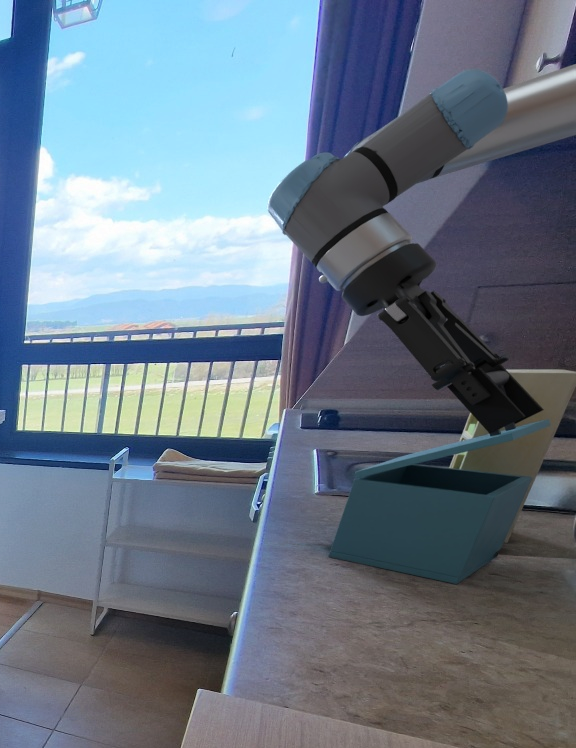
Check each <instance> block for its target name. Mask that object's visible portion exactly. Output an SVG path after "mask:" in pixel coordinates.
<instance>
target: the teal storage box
mask: <svg viewBox="0 0 576 748" xmlns="http://www.w3.org/2000/svg"><path fill="white" fill-rule="evenodd" d="M532 478H533V477H527V476H518V475H509V474H500V473H490V472H481V471H472V470H463V469H454V468H449V467H445V466H435V465H425V464H419V463H418V464H413V465H409V466H405V467H401V468H397V469H393V470H389V471H385V472H380V473H376V474H372V475H368V476H364V477H360V478H357V477H355V478H354V479H353V481H352V485H351V487H350V491H349V493H348V497H347V500H346V504H345V506H344V508H343V512H342V514H341V518H340V521H339V524H338V527H337V530H336V533H335V535H334V538H333V542H332V545H331V547H330V551H329V553H328V558H333V559H337V560H340V561H341V560H342V561H347V562H351V563H356V564H359V565H365V566H371V567H373V568H380V569H383V570H387V571H394V572H398V573H402V574H407V575H412V576H416V577H421V578H425V579H431V580H434V581H440V582H444V583H449V584H454V585H458V584H459V583H461V582H462V581H464V580H466V579H467V578H468V577H470V576H471V575H473V574H474V573H475V572H477V571H478V570H480V569H482V568H483V567H485V566H486V565H487V564H488V563H490V562H492V561H493V560H494V559H495V558H497V557H499V553H497V552H499V551H500V550H501V549H502V547H503V544H504V543H505V542H504V540H505V538H506V536H507V534H508V532H509V529H510V527H511V525H512V523H513V520H514V518H515V516H516V514H517V512H518V509H519V507H520V505H521V503H522V501H523V498H524V496H525V494H526V492H527V489H528V487H529V485H530V483H531V481H532Z"/></svg>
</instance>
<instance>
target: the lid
mask: <svg viewBox="0 0 576 748" xmlns="http://www.w3.org/2000/svg"><path fill="white" fill-rule="evenodd" d="M486 374H487V375H488V376H489V377H490V378H491V379H492V380H493V382H494V383H495V384H496V385H497V386H498V387H499V388H500V389H501V390H502V391H503V392H504V393H505V394H506V392H505V388H504V384H506V383H507V382H508V380H509V374H508V373H507V372H505V371H494V372H489V373H486ZM506 396H507V395H506ZM548 426H551V425H550V421H549V419H547V420H543V421H539V422H535V423H531V424H527V425H523V426H519V427H516V426H515V422H513V423H511V424H509V425H507V426H505V430H503V431H500V429H499V430H497V431H495V432H493V433H490V434H487V435H484V436H480V437H476V438H472V439H468V440H464V441H460V440H459V441H460V442H459V441H456V442H453V443H448V444H444V445H442V446H441V445H440V446H437V447H433V448H428V449H425V450H421V451H416V452H414V453H409V454H405V455H401V456H398V457H395V458H392V459H389V460H387V461H383V462H381V463H377V464H375V465H371V466H367V467H364V468H362V469H360V470H356V471H355V478H360V477H364V476H368V475H372V474H376V473H380V472H385V471H389V470H393V469H397V468H401V467H405V466H409V465H413V464H418V465H419V464H422V463H425V462H429V461H434V460H438V459H441V458H446V457H451V456H454V455H455V454H459V453H463V452H467V451H471V450H475V449H479V448H484V447H488V446H492V445H496V444H500V443H504V442H508V441H513V440H515V439H518V438H520V437H523V436H525V435H528V434H530V433H533V432H536V431H538V430H541V429H543V428H546V427H548Z"/></svg>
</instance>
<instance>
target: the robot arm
mask: <svg viewBox="0 0 576 748" xmlns="http://www.w3.org/2000/svg"><path fill="white" fill-rule="evenodd" d="M573 136H576V63H575V64H572V65H571V64H570V65H568V66H566V67H563V68H560V69H557V70H554V71H551V72H548V73H545V74H542V75H540V76H537V77H533V78H530V79H527V80H525V81H524V80H523V81H522V82H518V83H516V84H513V85H510V86H507V87H504V88H503V86H502V85H501V84H500V82H499V81H498V80H497V79H496V78H495V77H494V76H493V75H492V74H490V73H489V72H486V71H485V70H482V69H478V68H468V69H465V70H463V71H461V72H459V73H457V74H456V75H454V76H453V77H451V78H450V79H449V80H447V81H446V82H444V83H443V84H441V85H440V86H438V87H436V88H434V89H433V90H431V91H430V93H428V94H427V95H426V96H424V97H423V98H422V99H420V100H419V101H418V102H417V103H415V104H414V105H413V106H411V107H410V108H409V109H408V110H406V111H405V112H403V113H402V114H400V115H399V116H397V117H395V118H394V119H393V120H391V121H390V122H388V123H387V124H385V125H384V126H382V127H381V128H379V129H378V130H376V131H375V132H373V133H371V134H370V135H368V136H365V137H364V138H363V139H361V140H360V141H358V142H356V144H354V145H353V146H352V147H351V148H350V150H349V151H348V152H347V153H346V154H345V155H344V156H343V157H342V158H340V157H339V156H335V155H333V154H332V153H331V152H321V153H317V154H315V155H314V156H312V157H311V158H310V159H307V160H304V161H303V162H301V163H300V164H298V165H297V166H296V167H295V168H293V169H292V170H291V171H290V172H288V174H287V175H286V176H284V177H283V178H282V180H280V182H279V183H278V184H277V185H276V187H275V188H274V189H273V190H272V192H271V194H270V195H269V198H268V200H267V206H266V208H267V211H268V213H269V215H270V217H271V218H272V219H273V220H274V222H275V223H276V224H277V226H278V228H279V229H280V230H281V232H282V234H283V235H284V236H286V237H287V238H288V239H289V240H290V241H291V242H292V243H293V244H294V246H296V247H297V248H298V249H299V251H300V252H301V253H302V254H303V255H304V256H305V257H306V258H307V260H308V261H310V263H311V264H312V265H313V266H314V267H315V268H316V269H317V271H318V272H319V273H322V275H321V276H320V277H319V278H318V281H319V283H320V284H326V283H327V282H328V283H329V284H330V285H331V286H332V288H333V289H334V290H336V291H337V292H340V291H341V292H342V293H341V298H342V300H343V301H344V302H345V303H346V304H347V306H349V308H350V309H351V310H352V311H353V313H354V314H356V315H357V316H359V317H365V316H369V315H371V314H374V313H377V312H378V311H380V310H381V311H380V312H378V313H377V317H378V319H379V321H382V322H383V323H384V325H386V326H387V327H388V328H389V329H390V330H391V331H392V332H393V334H394V335H395V336H396V337H397V338H398V340H399V341H400V342H401V343H402V344H403V345H404V347H405V349H407V350H408V351H409V353H411V355H412V356H413V357H414V359H415V360H416V361H417V362H418V364H419V365H420V366H421V367H422V368H423V370H425V372H426V373H427V374H428V375H429V378H430V379H431V380H432V381H433V383H432V384H431V386H432V388H433V389H435V390H436V391H439V390H441V389H443V388H445V387H447V388H448V389H449V391H450V392H451V393H452V394H453V395H454V396H455V397H456V398H457V399H458V400H459V402H460V403H461V404H462V405H463V406H464V407H465V408H466V410H468V412H469V414H470V413H471V414H472V415H473V416H474V417H475V418H476V419H477V420H478V421H479V423H480V424H481V425H482V426H483V427H484V428H485V429H486V430H487V431H488V433H489V434H490V433H493V432H495V431H497V430H499V429H501V428H503V427H505V426H507V425H509V424H511V423H513V422H515V424H516V423H518V422H520V421H523V420H525V419H527V418H529V417H531V416H533V415H535V414H537V413H539V412H541V411H543V410H544V409H543V408H542V407H541V406H540V405H539V404H538V403H537V402H536V401H535V400H534V399H533V398H532V397H531V396H530V395H529V393H528V392H527V391H526V390H525V389H524V388H523V387H522V386H521V385H520V384H519V383H518V382H517V381H516V380H515V379H514V378H513V377H512V375H511V374H510V373H509V372H508V371H507V370H508V369H506V368H505V367H504V366H503V364H504V363H507V362H509V360H510V358H509V357H508V355H507V354H503V355H501V356H500V354H499V353H498V352H496V351H494V350H493V349H492V348H491V347H490V346H489V345H488V344H487V343H486V342H485V341H484V340H483V339H482V338H481V337H480V336H479V335H478V334H477V333H476V332H475V330H473V329H472V328H471V327H470V326H469V325H468V324H467V323H466V322H465V321H464V320H463V319H462V318H461V317H460V316H459V315H458V314H457V313H456V312H455V310H453V308H451V306H450V305H449V303H448V302H447V300H446V298H444V297H443V296H441V295H440V294H439V293H438V292H436V291H435V290H432V291H431V292H430V291H429V290H424V289H423V288H421V287H420V285H421V284H422V282H423V281H424V280H425V279H428V278H429V277H430V275H431V274H433V272H434V271H435V269H436V267H437V261H436V260H435V259H434V258H433V257H432V256H431V255H430V254H429V253H428V252H427V251H426V250H425V249H424V248H423V247H422V246H421V245H420V244H419V243H417V242H415V243H414V242H413V243H412V239H413V235H412V234H411V233H410V232H409V231H408V230H407V229H406V228H405V227H404V226H403V225H402V224H401V223H400V221H398V220H397V219H396V218H395V216H393V215H392V214H391V212H389V211H388V210H387V209H386V208H384V207H385V206H386V205H388V204H390V203H391V202H392V201H394V200H395V199H396V198H398V196H400V195H402V194H404V192H406V191H408V190H409V189H411V188H412V187H414V186H416V185H417V184H420V183H423V182H426V181H429V180H431V179H435V178H438V177H442V176H445V175H448V174H451V173H454V172H458V171H461V170H465V169H468V168H471V167H475V166H478V165H481V164H484V163H487V162H490V161H494V160H498V159H501V158H504V157H506V156H507V157H508V156H511V155H514V154H517V153H521V152H524V151H528V150H530V149H534V148H537V147H540V146H544V145H547V144H550V143H554V142H557V141H560V140H563V139H567V138H570V137H573ZM382 309H383V310H382ZM494 371H505V372H507V373H508V374H509V380H508V382H507V383H506V384H504V388H505V392H506V394H505V393H504V392H503V391H502V390H501V389H500V388H499V387H498V386H497V385H496V384H495V383H494V382H493V380H492V379H491V378H490V377H489V376H488V375H487V374H486V373H489V372H494ZM506 395H507V396H506Z"/></svg>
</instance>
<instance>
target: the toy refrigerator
mask: <svg viewBox="0 0 576 748" xmlns="http://www.w3.org/2000/svg"><path fill="white" fill-rule="evenodd" d="M506 370H507V371H508V372H509V373H510V374H511V375H512V377H513V378H514V379H515V380H516V381H517V382H518V383H519V384H520V385H521V386H522V387H523V388H524V389H525V390H526V391H527V392H528V393H529V395H530V396H531V397H532V398H533V399H534V400H535V401H536V402H537V403H538V404H539V405H540V406H541V407H542V408H543V409H544V410H543V411H541V412H539V413H537V414H535V415H533V416H531V417H529V418H527V419H525V420H523V421H520V422H518V423H516V424H515V426H516V427H519V426H523V425H527V424H531V423H535V422H539V421H543V420H547V419H549V421H550V425H551V426H548V427H546V428H543V429H541V430H538V431H536V432H533V433H530V434H528V435H525V436H523V437H520V438H518V439H515V440H513V441H508V442H504V443H500V444H496V445H492V446H488V447H484V448H479V449H475V450H471V451H467V452H463V453H459V454H455V455H453V457H452V460H451V461H450V465H449V467H448V468H454V469H463V470H472V471H481V472H490V473H500V474H509V475H518V476H527V477H533V478H532V481H531V483H530V485H529V487H528V489H527V492H526V494H525V496H524V498H523V501H522V503H521V505H520V507H519V509H518V512H517V514H516V516H515V518H514V520H513V523H512V525H511V527H510V529H509V532H508V534H507V536H506V538H505V540H504V543H507V544H508V542H509V541H510V538H511V536H512V533H513V531H514V528H515V526H516V524H517V522H518V519H519V517H520V515H521V513H522V511H523V508H524V506H525V503H526V501H527V499H528V497H529V494H530V492H531V490H532V487H533V485H534V483H535V480H536V478H537V476H538V474H539V471H540V470H541V467H542V465H543V462H544V459H545V457H546V455H547V454H548V450H549V448H550V446H551V444H552V441H553V439H554V437H555V435H556V432H557V430H558V428H559V426H560V424H561V421H562V418H563V417H564V414H565V411H566V409H567V407H568V405H569V402H570V400H571V398H572V395H573V393H574V391H575V389H576V371H574V370H567V369H506ZM503 430H505V427H503V428H501V429H500V431H503ZM487 434H489V433H488V431H487V430H486V429H485V428H484V427H483V426H482V425H481V424H480V423H479V421H478V420H477V419H476V418H475V417H474V416H473V415H472V414H471V413H470V412H469V415H468V416H467V420H466V422H465V425H464V427H463V430H462V433H461V436H460V438H459V441H458V442H460V441H464V440H468V439H472V438H476V437H480V436H484V435H487Z"/></svg>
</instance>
